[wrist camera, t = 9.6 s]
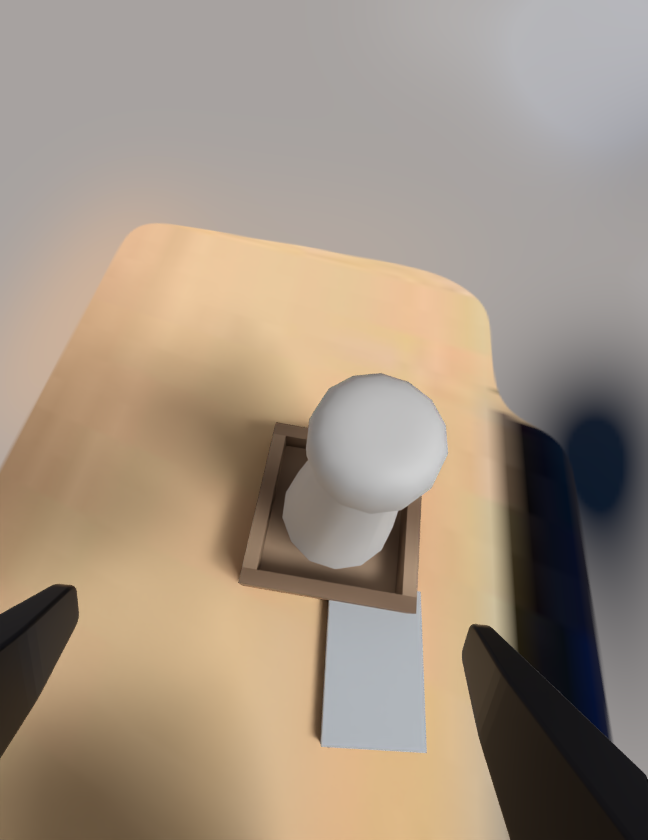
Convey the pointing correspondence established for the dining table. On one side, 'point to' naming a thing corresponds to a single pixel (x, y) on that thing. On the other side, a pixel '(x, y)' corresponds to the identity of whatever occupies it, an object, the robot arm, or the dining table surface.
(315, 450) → the salt shaker
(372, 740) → the grey rectangular slab
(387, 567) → the walnut socket
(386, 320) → the dining table surface
